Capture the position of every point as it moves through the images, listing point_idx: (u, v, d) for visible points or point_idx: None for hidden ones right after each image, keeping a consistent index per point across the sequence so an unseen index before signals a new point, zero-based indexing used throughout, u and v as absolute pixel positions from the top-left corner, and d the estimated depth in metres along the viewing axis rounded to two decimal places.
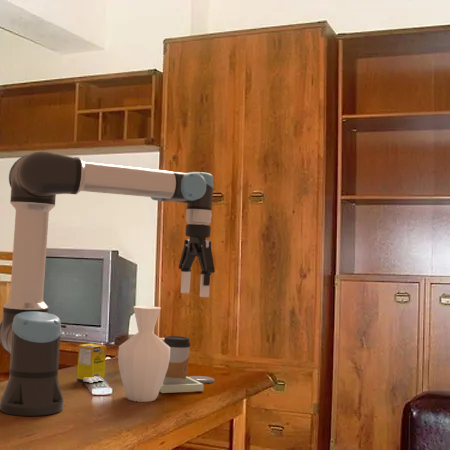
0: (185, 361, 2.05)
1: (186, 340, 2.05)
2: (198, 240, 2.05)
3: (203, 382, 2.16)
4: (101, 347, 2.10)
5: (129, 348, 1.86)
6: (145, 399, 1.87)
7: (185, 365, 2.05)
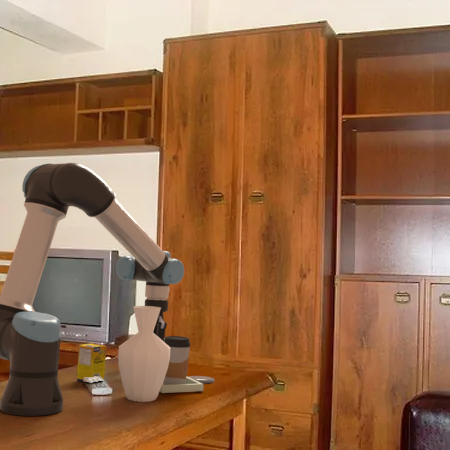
0: (185, 361, 2.05)
1: (186, 340, 2.05)
2: None
3: (203, 382, 2.16)
4: (101, 347, 2.10)
5: (129, 348, 1.86)
6: (145, 399, 1.87)
7: (185, 365, 2.05)
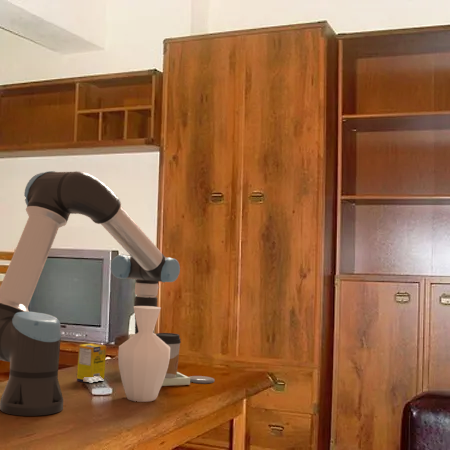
0: (176, 357, 2.11)
1: (177, 337, 2.11)
2: None
3: (203, 382, 2.16)
4: (101, 347, 2.10)
5: (129, 348, 1.86)
6: (145, 399, 1.87)
7: (176, 361, 2.11)
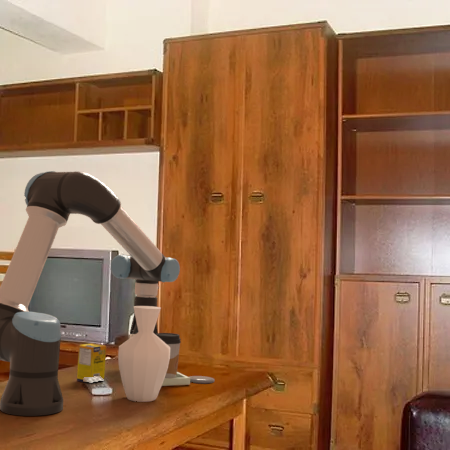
0: (176, 357, 2.11)
1: (177, 337, 2.11)
2: None
3: (203, 382, 2.16)
4: (101, 347, 2.10)
5: (129, 348, 1.86)
6: (145, 399, 1.87)
7: (176, 361, 2.11)
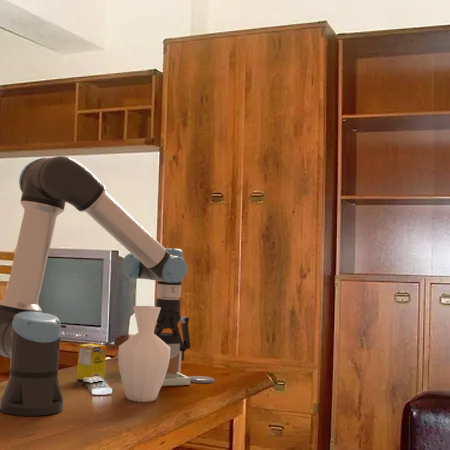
0: (176, 356, 2.11)
1: (177, 337, 2.11)
2: None
3: (203, 382, 2.16)
4: (101, 347, 2.10)
5: (129, 348, 1.86)
6: (145, 399, 1.87)
7: (176, 361, 2.11)
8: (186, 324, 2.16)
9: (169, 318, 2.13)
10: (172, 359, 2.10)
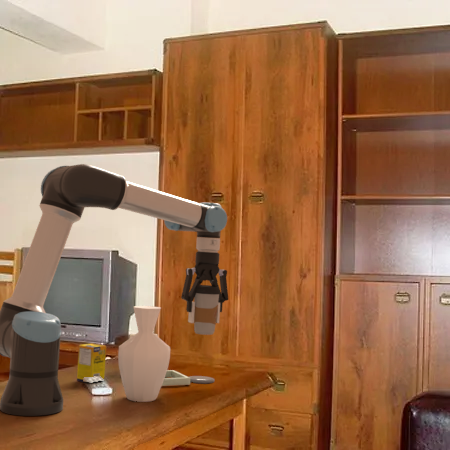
0: (215, 307, 2.18)
1: (216, 288, 2.18)
2: None
3: (203, 382, 2.16)
4: (101, 347, 2.10)
5: (129, 348, 1.86)
6: (145, 399, 1.87)
7: (215, 311, 2.18)
8: (224, 277, 2.23)
9: (208, 270, 2.21)
10: (212, 309, 2.17)
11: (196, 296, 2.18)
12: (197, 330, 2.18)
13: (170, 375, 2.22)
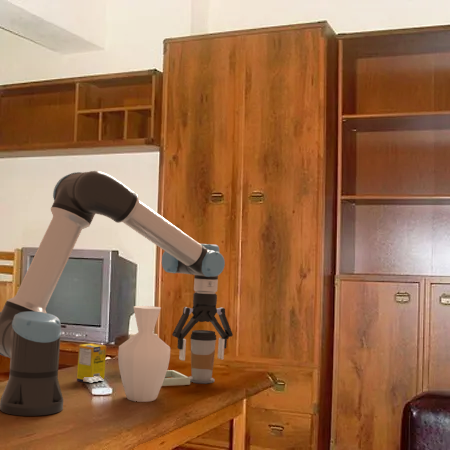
0: (212, 353, 2.18)
1: (213, 333, 2.18)
2: None
3: (203, 382, 2.16)
4: (101, 347, 2.10)
5: (129, 348, 1.86)
6: (145, 399, 1.87)
7: (212, 357, 2.18)
8: (223, 315, 2.23)
9: (206, 312, 2.20)
10: (209, 355, 2.17)
11: (192, 342, 2.18)
12: (194, 376, 2.17)
13: (170, 375, 2.22)
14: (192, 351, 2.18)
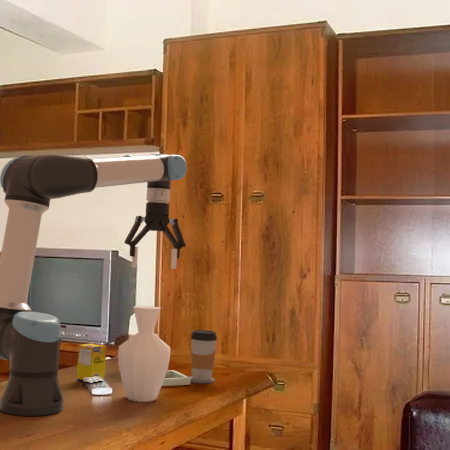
0: (212, 353, 2.18)
1: (213, 334, 2.18)
2: None
3: (203, 382, 2.16)
4: (101, 347, 2.10)
5: (129, 348, 1.86)
6: (145, 399, 1.87)
7: (212, 357, 2.18)
8: (176, 225, 2.26)
9: (158, 222, 2.23)
10: (209, 355, 2.17)
11: (193, 342, 2.18)
12: (194, 376, 2.17)
13: (170, 375, 2.22)
14: (192, 351, 2.18)
